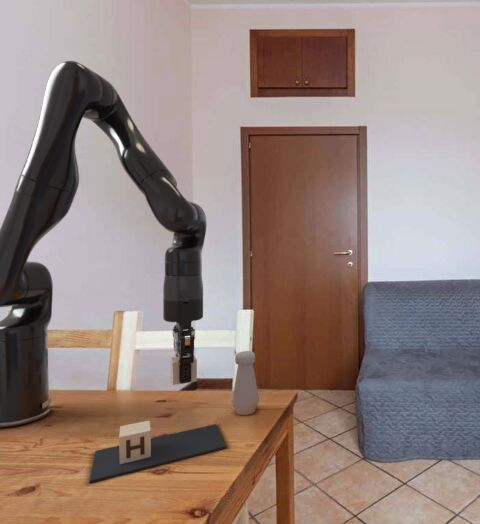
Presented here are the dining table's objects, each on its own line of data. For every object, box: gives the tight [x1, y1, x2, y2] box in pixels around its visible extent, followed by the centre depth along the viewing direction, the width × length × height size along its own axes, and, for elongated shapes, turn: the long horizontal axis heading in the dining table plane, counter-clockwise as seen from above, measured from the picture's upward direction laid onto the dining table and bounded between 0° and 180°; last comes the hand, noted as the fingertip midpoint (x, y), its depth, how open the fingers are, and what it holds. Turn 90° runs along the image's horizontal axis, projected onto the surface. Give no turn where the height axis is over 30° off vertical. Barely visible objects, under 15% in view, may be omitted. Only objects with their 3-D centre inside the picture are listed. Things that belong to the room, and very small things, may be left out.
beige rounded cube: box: [118, 420, 152, 464], centre depth 63 cm, size 4×5×4 cm
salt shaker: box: [231, 350, 260, 416], centre depth 82 cm, size 6×6×13 cm
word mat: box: [88, 423, 227, 484], centre depth 65 cm, size 20×10×1 cm, turn 120°
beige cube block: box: [170, 355, 198, 386], centre depth 77 cm, size 4×5×4 cm
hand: (183, 378), depth 77 cm, fingers closed on beige cube block, 4 cm apart
